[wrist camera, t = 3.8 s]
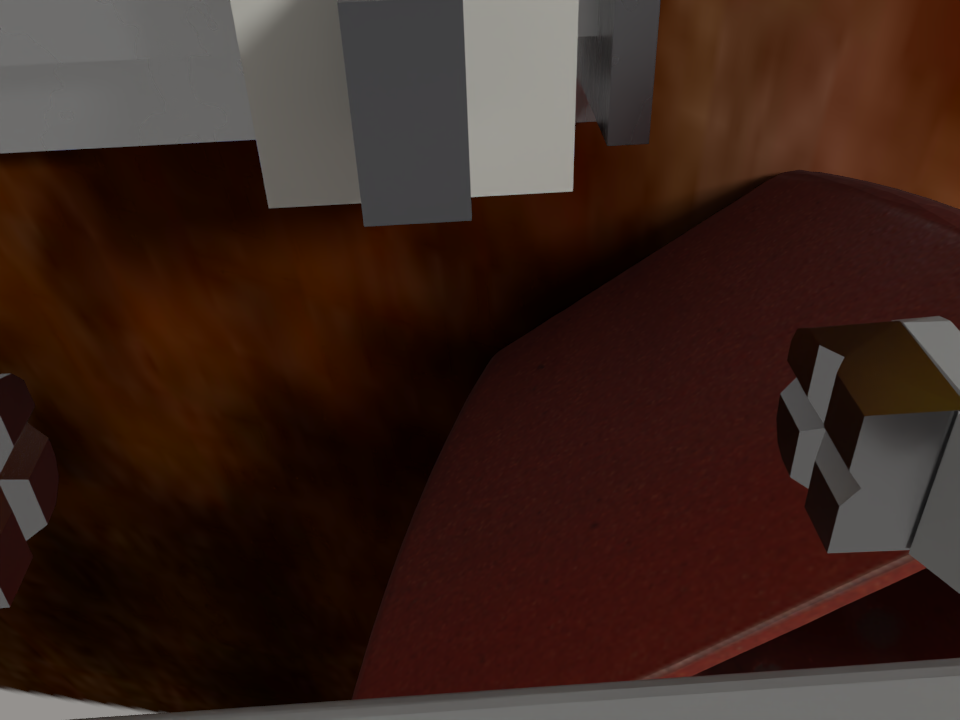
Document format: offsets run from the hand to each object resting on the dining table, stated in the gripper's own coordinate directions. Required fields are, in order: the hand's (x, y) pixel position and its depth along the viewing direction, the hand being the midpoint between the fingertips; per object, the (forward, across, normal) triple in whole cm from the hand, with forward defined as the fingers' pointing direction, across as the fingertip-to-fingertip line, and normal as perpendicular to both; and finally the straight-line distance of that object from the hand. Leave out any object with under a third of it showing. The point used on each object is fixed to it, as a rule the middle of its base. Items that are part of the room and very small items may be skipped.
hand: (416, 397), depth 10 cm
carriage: (+17, 0, 0) cm, 17 cm away
